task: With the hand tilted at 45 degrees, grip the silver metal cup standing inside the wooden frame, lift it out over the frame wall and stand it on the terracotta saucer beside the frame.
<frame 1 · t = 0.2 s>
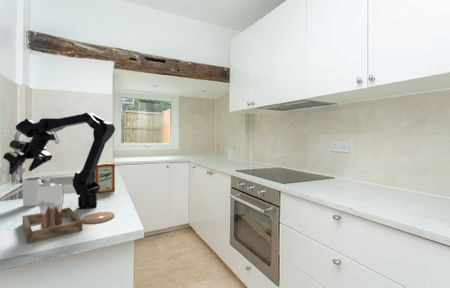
hand: (20, 172, 101), 15 cm above the counter, tool tilted 35°, fingers open, 9 cm apart
silver metal cup: (51, 227, 78), resting in wooden frame
wooden frame: (51, 227, 78), on the counter
can: (32, 205, 102), on the counter
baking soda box: (104, 191, 128), on the counter
terracotta saucer: (98, 218, 87), on the counter
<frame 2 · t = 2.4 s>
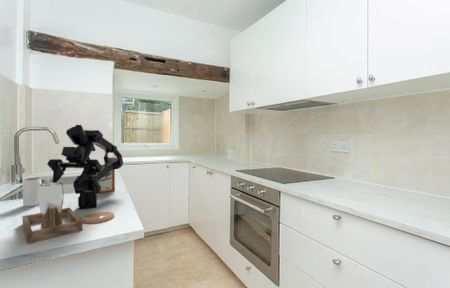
hand: (66, 183, 85), 14 cm above the counter, tool tilted 45°, fingers open, 9 cm apart
nothing on the counter moved.
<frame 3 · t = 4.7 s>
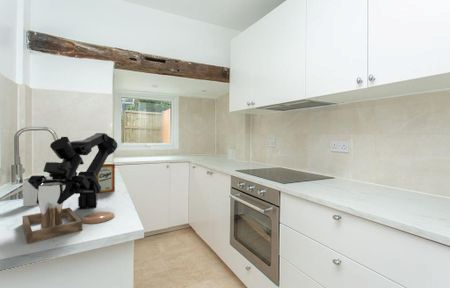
hand: (48, 203, 76), 9 cm above the counter, tool tilted 45°, fingers closed on silver metal cup, 7 cm apart
silver metal cup: (51, 227, 78), resting in wooden frame, touching gripper
everything else where it was.
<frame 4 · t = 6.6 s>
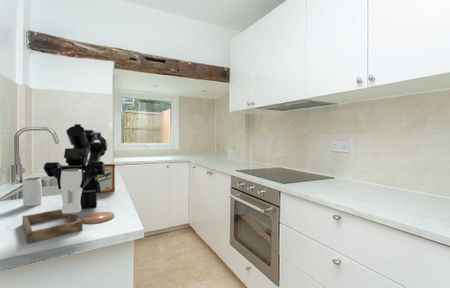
hand: (71, 188, 79), 13 cm above the counter, tool tilted 45°, fingers closed on silver metal cup, 7 cm apart
silver metal cup: (71, 212, 80), point 4 cm above the counter, touching gripper
everything else where it was.
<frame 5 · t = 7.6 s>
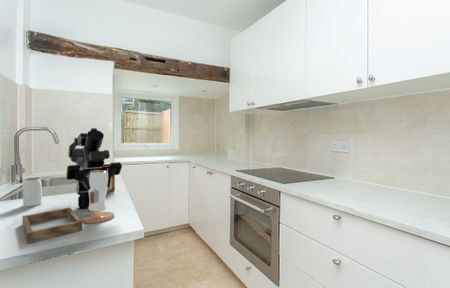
hand: (99, 188, 85), 12 cm above the counter, tool tilted 45°, fingers closed on silver metal cup, 7 cm apart
silver metal cup: (97, 210, 86), point 3 cm above the counter, touching gripper
everything else where it was.
when the fingers open (10 cm above the counter, at t = 8.5 s): silver metal cup stays where it is, resting on terracotta saucer.
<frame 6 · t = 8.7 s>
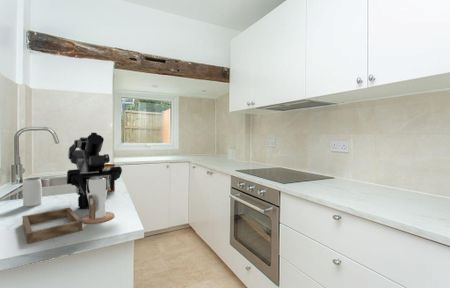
hand: (99, 192, 85), 10 cm above the counter, tool tilted 45°, fingers open, 9 cm apart
silver metal cup: (97, 217, 86), resting on terracotta saucer
everything else where it was.
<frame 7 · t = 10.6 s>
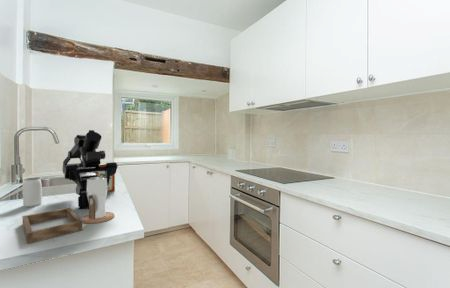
hand: (95, 186, 90), 11 cm above the counter, tool tilted 45°, fingers open, 9 cm apart
nothing on the counter moved.
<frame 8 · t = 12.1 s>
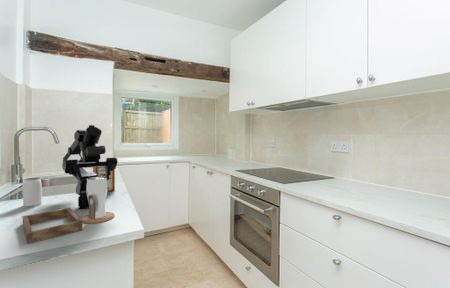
hand: (95, 181, 90), 14 cm above the counter, tool tilted 45°, fingers open, 9 cm apart
nothing on the counter moved.
at the end: silver metal cup 0.4 cm off-centre on the terracotta saucer, point 0.4 cm above the terracotta saucer's base; silver metal cup tilted 0°; the gripper is holding nothing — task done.
